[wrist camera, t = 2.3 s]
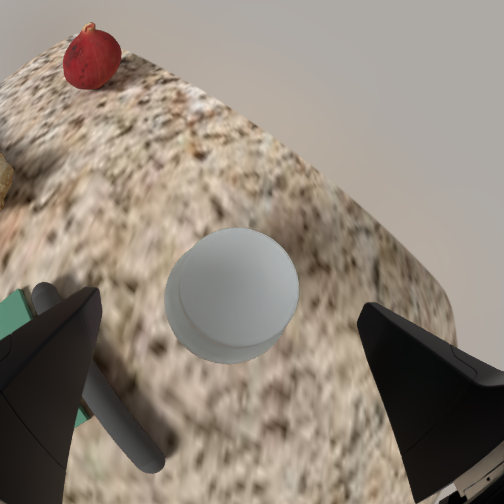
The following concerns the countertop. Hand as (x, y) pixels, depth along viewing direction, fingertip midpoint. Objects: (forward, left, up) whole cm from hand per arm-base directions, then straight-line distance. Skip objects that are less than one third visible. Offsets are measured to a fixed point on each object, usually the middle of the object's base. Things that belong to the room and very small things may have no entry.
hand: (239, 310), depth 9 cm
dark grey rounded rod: (+2, +8, -9) cm, 13 cm away
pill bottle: (+1, -1, -10) cm, 10 cm away
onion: (+26, -3, -10) cm, 28 cm away
